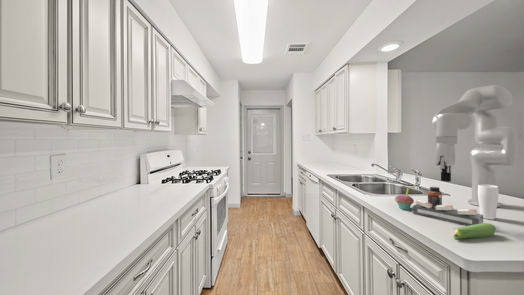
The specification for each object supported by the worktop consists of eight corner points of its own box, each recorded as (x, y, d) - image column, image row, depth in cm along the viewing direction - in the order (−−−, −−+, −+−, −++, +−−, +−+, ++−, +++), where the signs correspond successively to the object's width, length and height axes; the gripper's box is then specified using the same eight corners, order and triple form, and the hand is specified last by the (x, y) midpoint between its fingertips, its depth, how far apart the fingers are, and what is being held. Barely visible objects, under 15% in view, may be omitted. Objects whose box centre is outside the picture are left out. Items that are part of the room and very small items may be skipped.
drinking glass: (493, 216, 106) (494, 184, 105) (501, 221, 100) (501, 187, 99) (474, 214, 109) (475, 184, 108) (481, 219, 103) (481, 186, 102)
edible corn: (502, 226, 84) (489, 219, 89) (457, 232, 81) (445, 224, 86) (498, 237, 86) (485, 229, 90) (453, 244, 83) (442, 235, 87)
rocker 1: (418, 202, 113) (418, 199, 113) (431, 207, 109) (432, 204, 108) (415, 203, 112) (416, 200, 111) (429, 208, 107) (430, 205, 107)
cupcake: (413, 207, 122) (413, 185, 122) (414, 211, 115) (414, 188, 115) (395, 205, 127) (395, 184, 127) (394, 209, 120) (394, 187, 119)
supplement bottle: (444, 210, 116) (444, 188, 116) (431, 209, 118) (431, 188, 117) (437, 206, 122) (438, 186, 122) (425, 206, 123) (425, 185, 123)
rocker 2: (438, 208, 107) (437, 205, 107) (453, 208, 102) (452, 205, 102) (435, 209, 105) (435, 206, 105) (451, 210, 100) (450, 206, 100)
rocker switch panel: (419, 210, 117) (419, 201, 117) (483, 223, 97) (483, 213, 97) (412, 213, 112) (412, 204, 112) (478, 228, 93) (478, 217, 93)
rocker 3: (460, 212, 100) (459, 209, 100) (477, 213, 95) (476, 209, 96) (458, 214, 98) (457, 210, 99) (475, 214, 94) (474, 210, 94)
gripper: (442, 140, 109) (441, 178, 110) (430, 140, 101) (429, 181, 101) (462, 140, 103) (461, 180, 103) (451, 140, 94) (450, 184, 95)
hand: (445, 181), depth 102 cm, fingers closed
